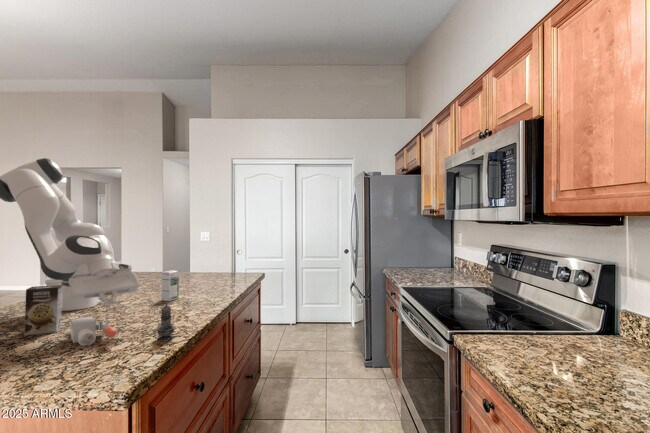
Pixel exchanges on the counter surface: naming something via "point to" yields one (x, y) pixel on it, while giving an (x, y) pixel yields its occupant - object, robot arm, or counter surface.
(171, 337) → the grey chess pawn
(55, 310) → the cookie box
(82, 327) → the valve
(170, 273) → the syrup box
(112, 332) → the lever
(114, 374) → the counter surface
